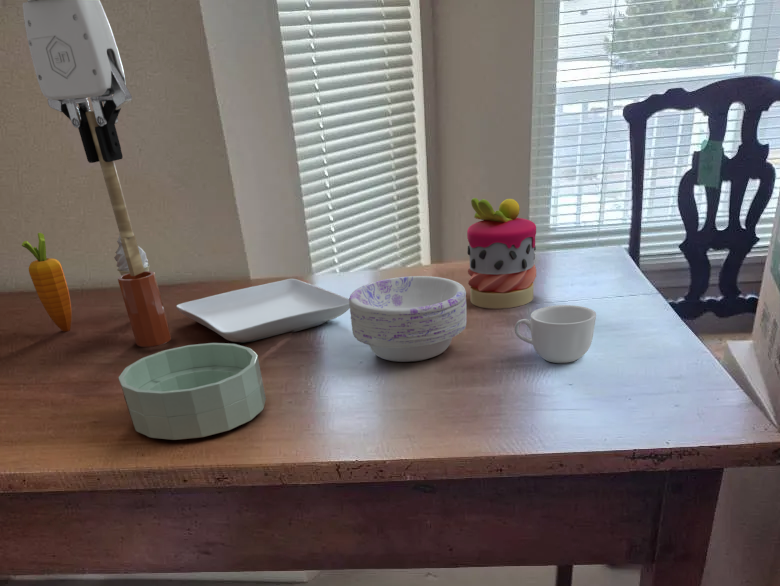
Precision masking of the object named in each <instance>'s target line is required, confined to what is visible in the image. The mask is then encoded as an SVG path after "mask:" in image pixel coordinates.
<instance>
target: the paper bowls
mask: <svg viewBox="0 0 780 586" xmlns="http://www.w3.org/2000/svg"><path fill="white" fill-rule="evenodd" d="M466 295H467V290H466V288H465V286H464V285H463V284H461V283H460V282H458V281H455V280H453V279H449V278H445V277H440V276H431V275H429V276H428V275H411V276H410V275H409V276H400V277H398V276H397V277H391V278H385V279H381V280H377V281H373V282H369V283H367V284H364V285H362V286H360V287H358V288H356V289H354V290H353V291H352V292H351V294H350V295H349V298H348V299H349V307H350V308H349V314H350V322H351V323H350V324H351V325H350V326H351V331H352V335H353V337H354V339H356V340H357V341H358V342H360V343H362V344H364V345H368V346H369V348H370V350H371V351H372V352H373V353H374V354H375V356H377V357H379V358H380V359H383V360H385V361H391V362H397V363H398V362H399V363H402V362H403V363H411V362H419V361H420V362H421V361H424V360H429V359H432V358H434V357H437V356H440V355H441V354H442V353H444V352H445V351H446V350H447V349H448V348H449V346H450V345H451V343H452V340H453V338H455V337H456V336H458V335H460V334H461V333H462V332H463V331H464V330H466V327H467V321H468V320H467V297H466Z"/></svg>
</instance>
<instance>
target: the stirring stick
mask: <svg viewBox="0 0 780 586" xmlns="http://www.w3.org/2000/svg"><path fill="white" fill-rule="evenodd" d="M86 116H87V120H88V123H89V127H90V130H91V134H92V137H93V141H94V144H95V148H96V151H97V155H98V159H99V166H100V169H101V172H102V176H103V180H104V183H105V186H106V190H107V193H108V197H109V201H110V204H111V208H112V211H113V215H114V218H115V222H116V226H117V229H118V233H120V236H121V239H120V240H121V243H122V247H123V250H124V254H125V257H126V261H127V264H128V268H129V271H130V275H131V276H136V275H138V274H140V273H143V272H145V271H144V267H143V263H142V260H141V256H140V252H139V249H138V246H139V245H138V242H137V238H136V235H135V234H134V230H133V226H132V222H131V218H130V214H129V211H128V208H127V204H126V200H125V196H124V193H123V189H122V186H121V182H120V178H119V175H118V171H117V167H116V163H115V161H111V162H105V161H104V160H103V157H102V154H101V150H100V146H99V143H98V139H97V136H96V132H95V127H97V126H99V125H98V123H97V121H96V118H95V114H94V110H91V111H89V112H86Z"/></svg>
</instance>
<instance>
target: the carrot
mask: <svg viewBox="0 0 780 586" xmlns="http://www.w3.org/2000/svg"><path fill="white" fill-rule="evenodd" d="M37 239H38V246H33V245H32V244H31V243H30V242H29V241H28V240H24V241H23V242H22V243H21V247H23V248H25V249H26V250H28V252H30V253H31V254H32V255H33V256H34V258H35V259H36V260H33V261H31V263H30V264H29V266H28V273H29V276H30V278H31V282H32V284H33V286H34V289H35V292H36V293H37V296H38V299H39V301H40V302H41V304H42V306H43V308H44V309H45V311H46V313H47V315H48V316H49V318H50V319H51V320H52V322H53V323H54V324H55V325H56V327H58V328H59V329H60V330H61V332H69V331H70V330H71V326H72V313H73V310H72V302H71V296H70V290H69V286H68V283H67V279H66V275H65V273H64V268H63V266H62V264H61V262H60V260H58V259H56V258H54V257H53V258H52V257H51V258H50V257H49V258H48V257H47V246H46V245H47V244H46V238H45V234H44V233H42V232H38V233H37Z"/></svg>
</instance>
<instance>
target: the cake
mask: <svg viewBox="0 0 780 586" xmlns="http://www.w3.org/2000/svg"><path fill="white" fill-rule="evenodd" d="M470 205H471V207H472V209H473V211H474V212H475V213H474V214H473V215H474V216H473V217H474V219H475V220H479V221H476V222H474V223H472V224H471V225H469V227H468V228H467V231H466V237H467V241H468V245H467V252H466V253H467V255H468V257H469V268H468V270H467V274H468V275H469V276H470V278H469V280H468V282H467V284H468V286H469V288H470V289H469V290H470V291H469V292H470V303H471V304H472V305H473V306H476V307H479V308H484V309H494V310H495V309H496V310H497V309H510V308H518V307H521V306H525V305H527V304H529V303H531V302H532V301H533V300H534V282H535V279H536V278H537V268H536V265H535V258H536V257H535V255H536V254H535V251H536V250H537V248H536V236H537V225H536V224H535V222H534V221H532V220H529V219H527V218H522V217H519V214H520V212H521V211H520V205H519V202H518V201H516V200H515V199H514V198H506V199H505V200H503V201H502V202H501V203H500V204H499V205H498V210H494V208H493V206H492V204H491V203H490V202H489V200H487V199H485V198H483V199H480V200H479V199H478V198H477V197H473V198H472V199H471V200H470Z"/></svg>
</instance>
